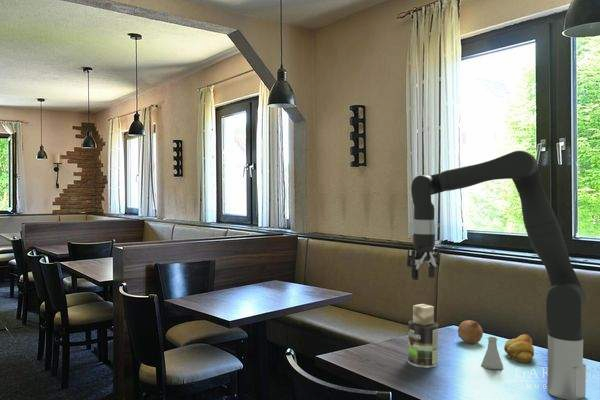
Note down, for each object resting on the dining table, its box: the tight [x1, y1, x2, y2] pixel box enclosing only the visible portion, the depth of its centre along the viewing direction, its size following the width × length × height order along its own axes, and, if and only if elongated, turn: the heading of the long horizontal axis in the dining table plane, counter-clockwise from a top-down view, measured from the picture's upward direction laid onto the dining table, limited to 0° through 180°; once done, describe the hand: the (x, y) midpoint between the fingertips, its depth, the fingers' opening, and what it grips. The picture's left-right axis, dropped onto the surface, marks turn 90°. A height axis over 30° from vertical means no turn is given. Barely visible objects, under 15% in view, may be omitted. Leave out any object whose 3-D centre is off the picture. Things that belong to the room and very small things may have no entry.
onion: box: [457, 319, 484, 345], centre depth 195 cm, size 10×9×10 cm
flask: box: [481, 336, 504, 370], centre depth 169 cm, size 7×7×10 cm
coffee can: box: [407, 319, 439, 369], centre depth 172 cm, size 10×10×14 cm
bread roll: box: [503, 333, 535, 364], centre depth 177 cm, size 13×10×8 cm
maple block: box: [412, 303, 435, 325], centre depth 172 cm, size 5×5×6 cm
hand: (423, 278), depth 171 cm, fingers open, 8 cm apart
